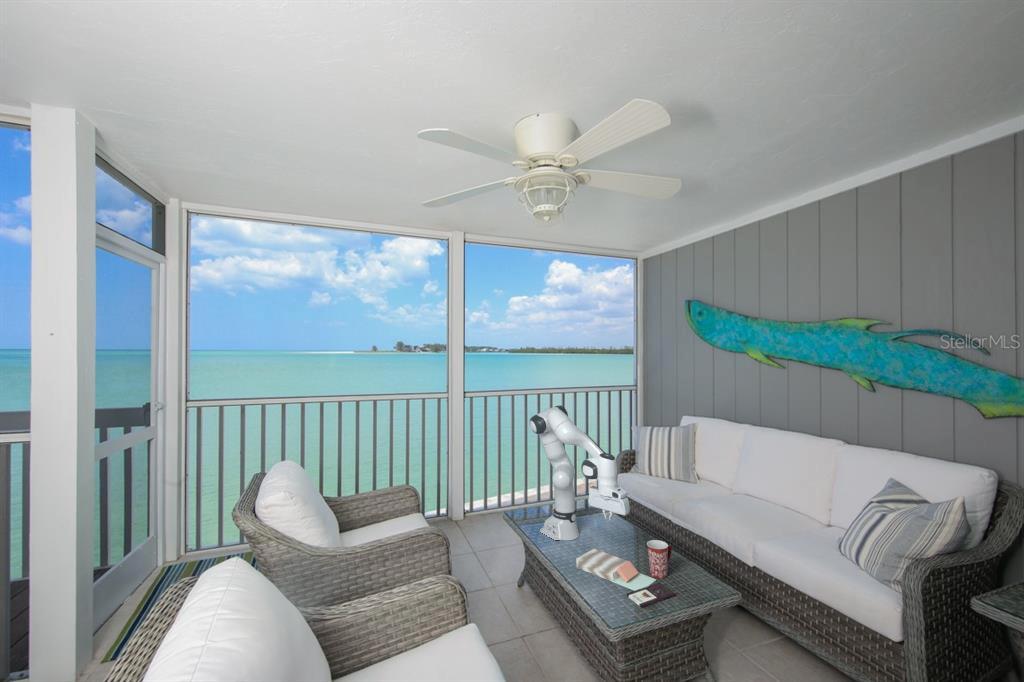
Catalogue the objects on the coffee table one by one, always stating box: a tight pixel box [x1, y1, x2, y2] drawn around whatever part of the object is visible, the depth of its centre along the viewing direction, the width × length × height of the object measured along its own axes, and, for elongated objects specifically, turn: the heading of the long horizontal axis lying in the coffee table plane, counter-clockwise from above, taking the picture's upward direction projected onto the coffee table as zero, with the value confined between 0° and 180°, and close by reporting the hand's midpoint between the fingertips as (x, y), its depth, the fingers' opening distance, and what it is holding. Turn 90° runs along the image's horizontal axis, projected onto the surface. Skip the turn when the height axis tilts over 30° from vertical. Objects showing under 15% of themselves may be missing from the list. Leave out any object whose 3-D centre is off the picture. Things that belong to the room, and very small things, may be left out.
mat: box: [610, 572, 657, 591], centre depth 192 cm, size 14×14×1 cm
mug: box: [646, 539, 673, 579], centre depth 198 cm, size 13×9×14 cm
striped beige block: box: [575, 548, 629, 582], centre depth 203 cm, size 20×14×4 cm
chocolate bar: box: [626, 582, 677, 609], centre depth 179 cm, size 9×1×18 cm
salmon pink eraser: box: [616, 560, 640, 583], centre depth 194 cm, size 6×9×2 cm
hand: (608, 519), depth 201 cm, fingers closed
